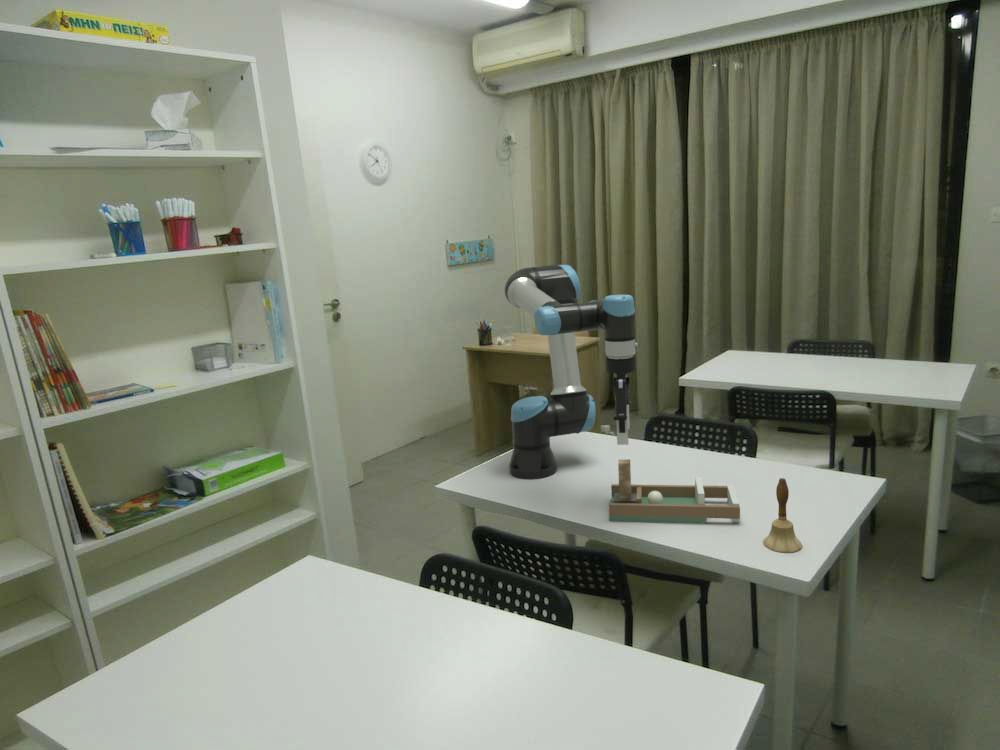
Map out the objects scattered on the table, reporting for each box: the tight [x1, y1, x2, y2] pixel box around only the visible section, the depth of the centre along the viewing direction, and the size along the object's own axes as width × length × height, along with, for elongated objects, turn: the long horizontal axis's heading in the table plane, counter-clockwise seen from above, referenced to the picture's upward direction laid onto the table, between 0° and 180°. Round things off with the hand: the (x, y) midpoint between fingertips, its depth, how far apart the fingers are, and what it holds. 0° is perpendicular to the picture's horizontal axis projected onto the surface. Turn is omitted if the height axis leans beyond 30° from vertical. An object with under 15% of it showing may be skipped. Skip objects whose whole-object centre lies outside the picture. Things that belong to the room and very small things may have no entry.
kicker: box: [614, 458, 642, 504], centre depth 173 cm, size 7×8×12 cm
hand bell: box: [762, 477, 803, 554], centre depth 149 cm, size 8×8×16 cm
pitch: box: [608, 476, 741, 525], centre depth 172 cm, size 32×14×8 cm, turn 78°
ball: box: [647, 491, 663, 504], centre depth 173 cm, size 4×4×4 cm
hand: (623, 436), depth 171 cm, fingers open, 13 cm apart
